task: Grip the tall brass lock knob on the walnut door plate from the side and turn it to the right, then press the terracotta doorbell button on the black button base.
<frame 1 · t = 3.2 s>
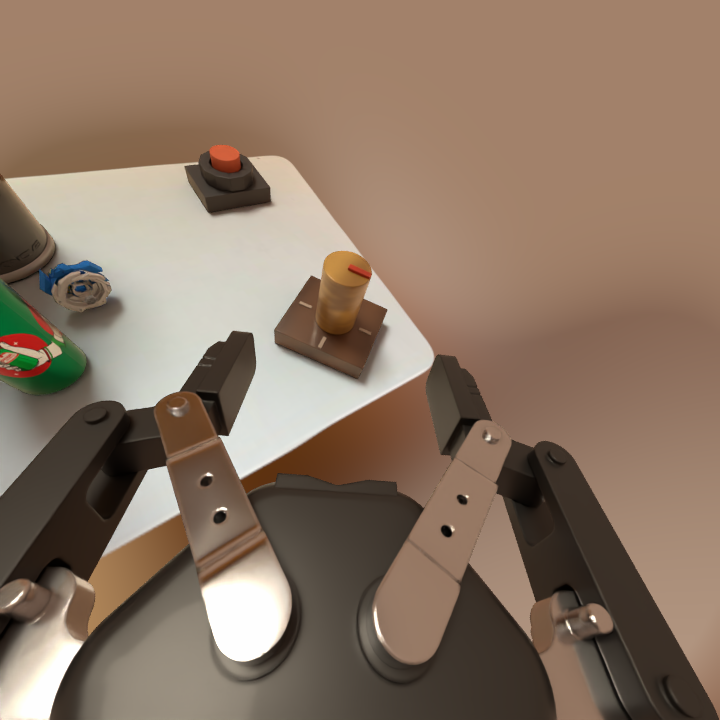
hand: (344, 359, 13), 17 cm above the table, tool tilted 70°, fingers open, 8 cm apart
bell button: (225, 159, 39), point 4 cm above the table, slide at 0.1 cm
soda can: (56, 371, 26), on the table
lock plate: (331, 331, 35), on the table
lock knob: (341, 294, 29), point 6 cm above the table, hinge at 0.0°
toy: (99, 309, 30), on the table
black button base: (230, 192, 43), on the table
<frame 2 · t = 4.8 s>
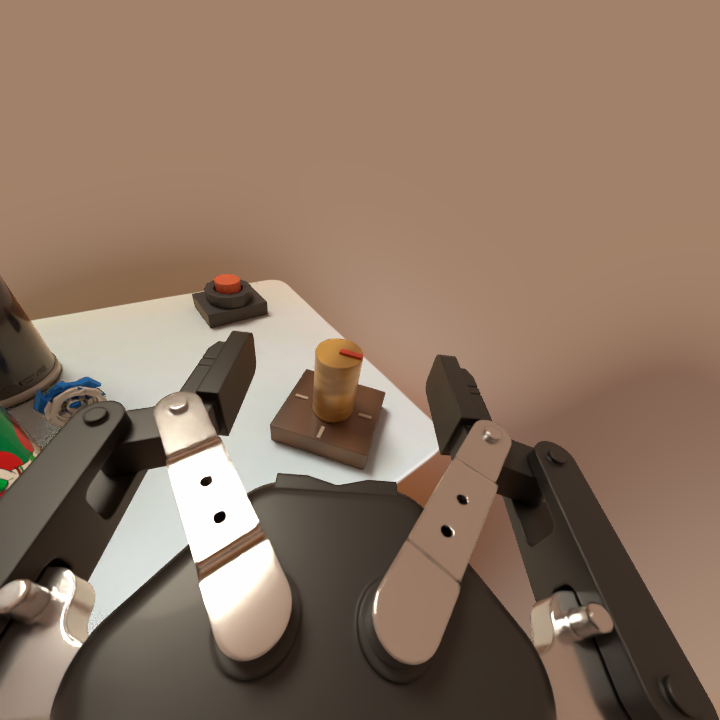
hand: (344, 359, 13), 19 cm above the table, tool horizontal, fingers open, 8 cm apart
bell button: (227, 284, 45), point 4 cm above the table, slide at 0.1 cm
soda can: (27, 498, 24), on the table
lock plate: (331, 421, 33), on the table
lock knob: (336, 380, 29), point 6 cm above the table, hinge at 0.0°
toy: (90, 424, 29), on the table
black button base: (231, 310, 48), on the table
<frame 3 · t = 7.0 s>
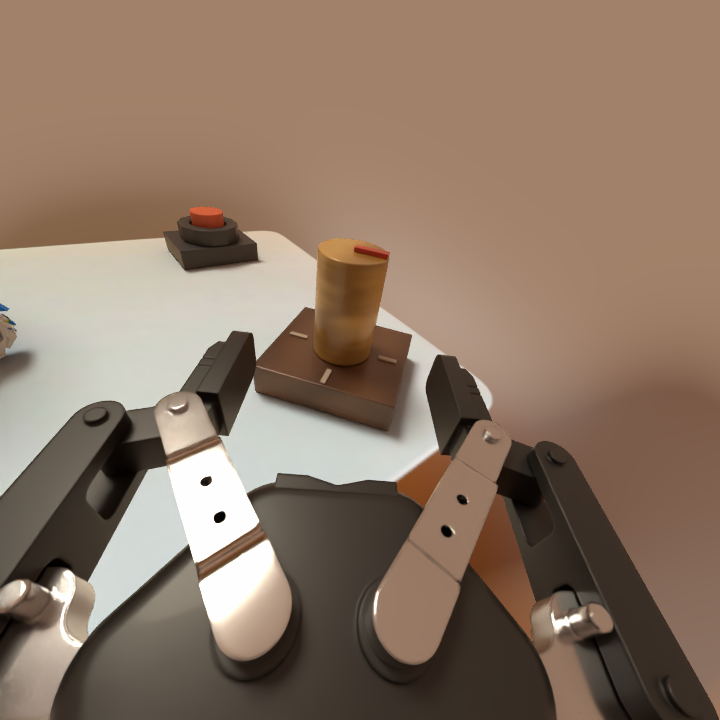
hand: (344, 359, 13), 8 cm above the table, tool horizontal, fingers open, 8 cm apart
bell button: (207, 218, 36), point 4 cm above the table, slide at 0.1 cm
lock plate: (339, 372, 24), on the table
lock knob: (347, 302, 20), point 6 cm above the table, hinge at 0.0°
black button base: (213, 254, 39), on the table
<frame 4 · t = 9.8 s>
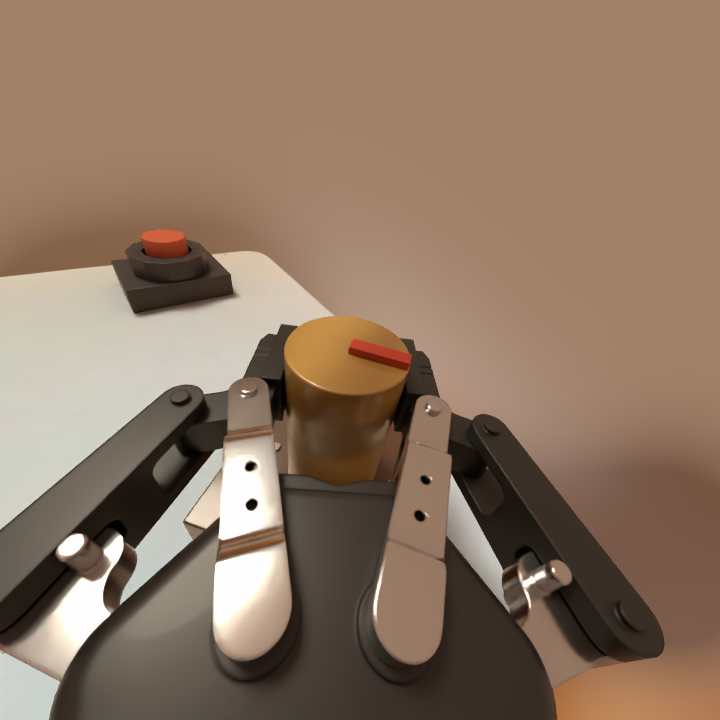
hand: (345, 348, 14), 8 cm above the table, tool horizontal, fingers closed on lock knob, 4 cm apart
bell button: (165, 244, 28), point 4 cm above the table, slide at 0.1 cm
lock plate: (328, 489, 17), on the table
lock knob: (339, 415, 13), point 6 cm above the table, hinge at -0.3°, touching gripper
black button base: (177, 287, 31), on the table
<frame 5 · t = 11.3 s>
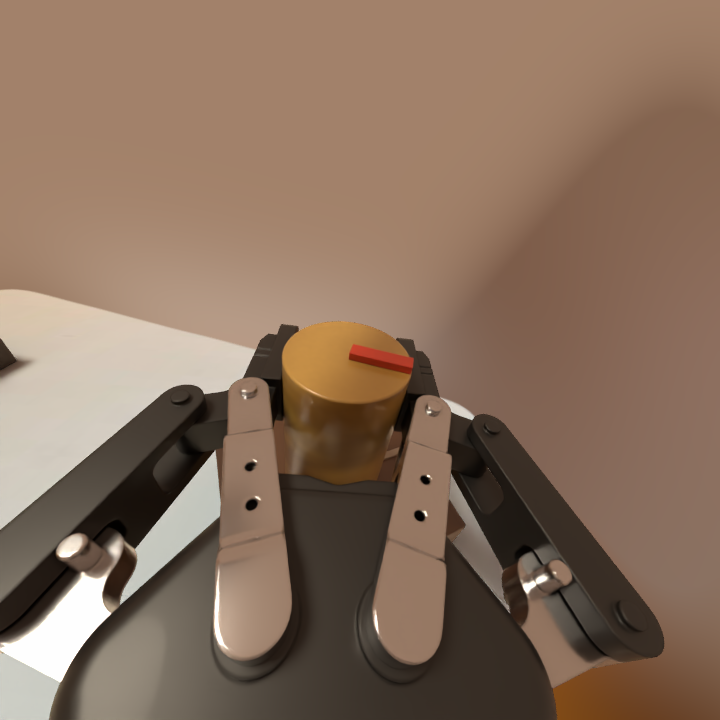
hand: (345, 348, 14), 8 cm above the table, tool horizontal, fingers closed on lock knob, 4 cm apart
lock plate: (327, 499, 16), on the table
lock knob: (338, 423, 12), point 6 cm above the table, hinge at -36.4°, touching gripper
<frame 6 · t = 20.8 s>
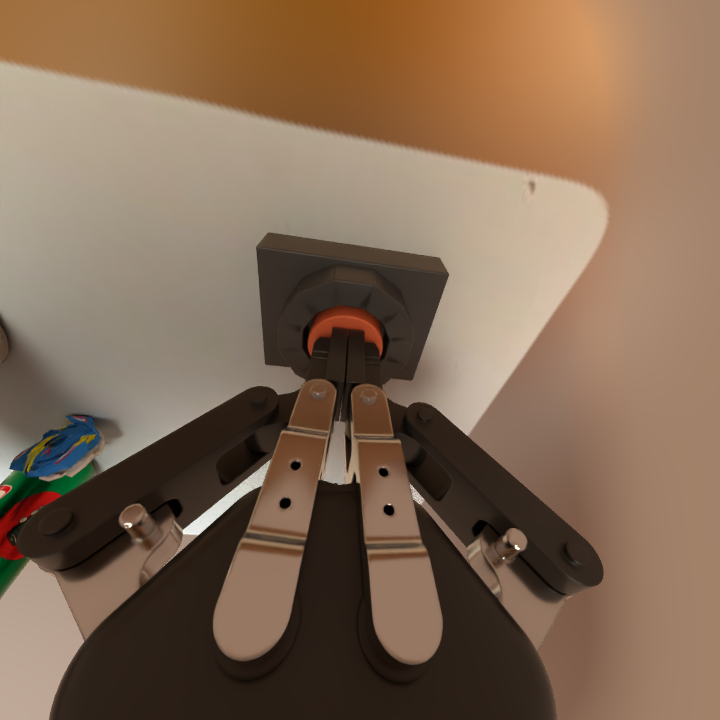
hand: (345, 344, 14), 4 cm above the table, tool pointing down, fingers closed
bell button: (345, 338, 15), point 3 cm above the table, slide at -0.9 cm, touching gripper
soda can: (69, 457, 28), on the table
toy: (96, 424, 25), on the table
black button base: (348, 304, 17), on the table
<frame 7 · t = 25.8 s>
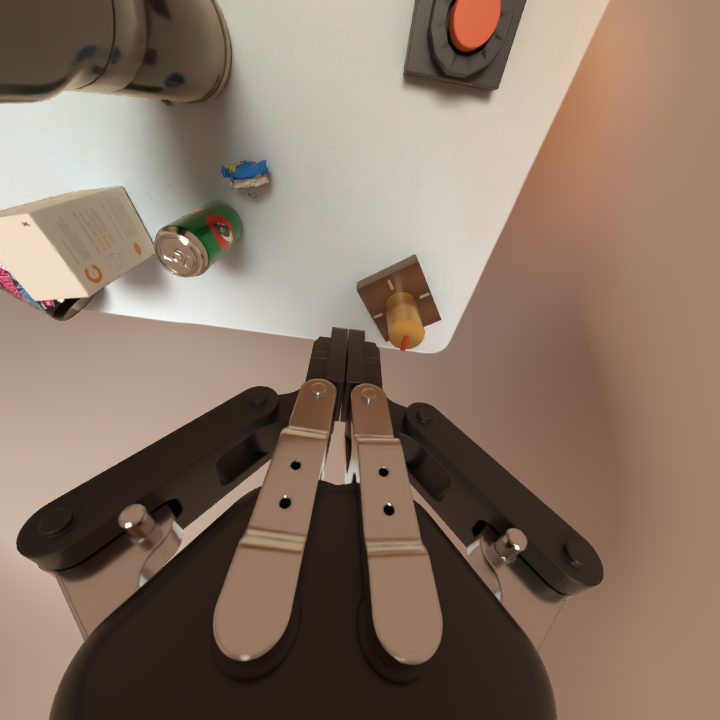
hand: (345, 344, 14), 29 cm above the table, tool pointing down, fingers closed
bell button: (473, 18, 24), point 4 cm above the table, slide at 0.1 cm
soda can: (223, 222, 38), on the table
lock plate: (398, 297, 44), on the table
lock knob: (403, 320, 39), point 6 cm above the table, hinge at -36.9°
small box: (119, 223, 38), on the table
toy: (256, 176, 35), on the table
black button base: (459, 30, 27), on the table
supplement container: (96, 292, 42), point 2 cm above the table
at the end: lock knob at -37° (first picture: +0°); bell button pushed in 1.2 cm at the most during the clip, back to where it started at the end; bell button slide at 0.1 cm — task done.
